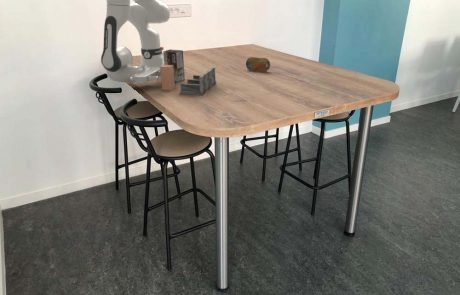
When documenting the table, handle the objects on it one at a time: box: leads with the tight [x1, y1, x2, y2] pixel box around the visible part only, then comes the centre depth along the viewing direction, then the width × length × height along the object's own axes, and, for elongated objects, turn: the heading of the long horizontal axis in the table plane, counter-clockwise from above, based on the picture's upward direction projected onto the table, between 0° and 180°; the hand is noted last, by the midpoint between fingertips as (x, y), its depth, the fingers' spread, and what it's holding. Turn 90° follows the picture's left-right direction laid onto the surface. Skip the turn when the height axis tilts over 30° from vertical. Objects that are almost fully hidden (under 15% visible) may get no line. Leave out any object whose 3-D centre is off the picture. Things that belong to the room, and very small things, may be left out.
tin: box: [245, 56, 271, 73], centre depth 223 cm, size 15×3×8 cm, turn 62°
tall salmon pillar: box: [160, 65, 176, 91], centre depth 190 cm, size 4×5×12 cm
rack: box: [179, 66, 217, 96], centre depth 190 cm, size 21×12×9 cm, turn 164°
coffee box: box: [162, 49, 186, 82], centre depth 205 cm, size 9×6×16 cm
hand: (161, 76), depth 190 cm, fingers open, 8 cm apart
